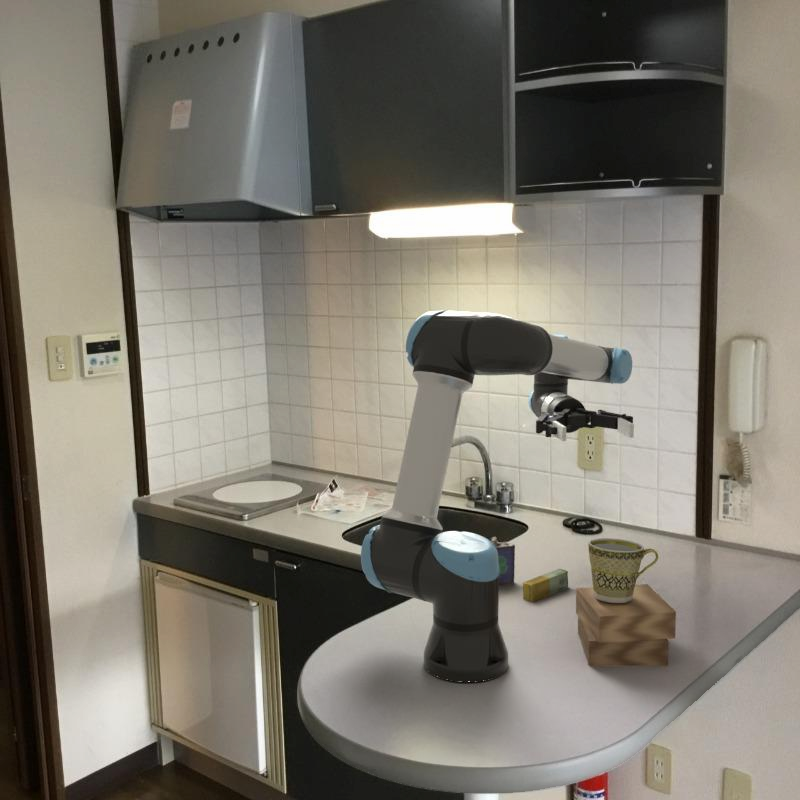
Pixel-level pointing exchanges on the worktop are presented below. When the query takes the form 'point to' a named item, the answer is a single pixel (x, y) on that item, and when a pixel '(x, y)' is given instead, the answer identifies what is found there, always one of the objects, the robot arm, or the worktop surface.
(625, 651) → the tower bottom block
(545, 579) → the medication box
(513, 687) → the worktop surface
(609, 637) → the tower top block
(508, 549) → the flask
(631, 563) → the ceramic cup
